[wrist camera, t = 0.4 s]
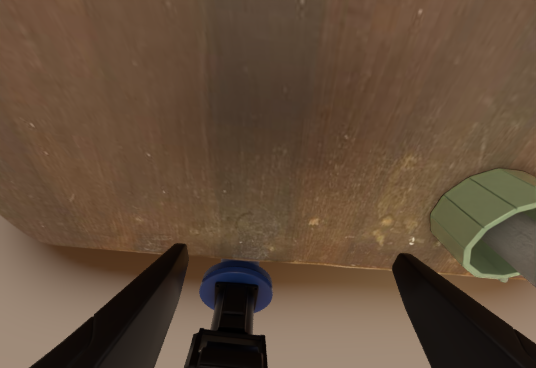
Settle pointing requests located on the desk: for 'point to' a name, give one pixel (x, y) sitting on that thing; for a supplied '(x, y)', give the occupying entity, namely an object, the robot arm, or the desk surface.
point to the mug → (482, 218)
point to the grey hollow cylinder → (515, 243)
